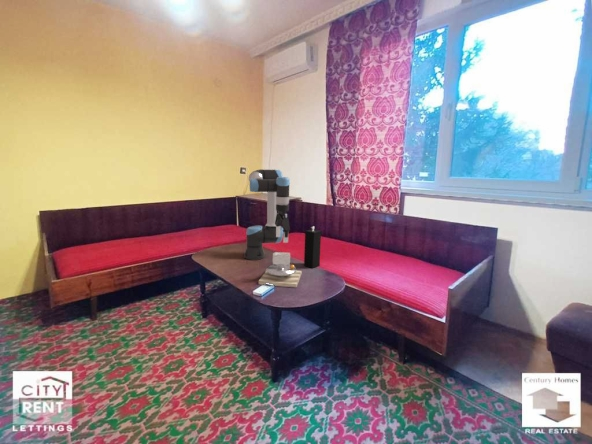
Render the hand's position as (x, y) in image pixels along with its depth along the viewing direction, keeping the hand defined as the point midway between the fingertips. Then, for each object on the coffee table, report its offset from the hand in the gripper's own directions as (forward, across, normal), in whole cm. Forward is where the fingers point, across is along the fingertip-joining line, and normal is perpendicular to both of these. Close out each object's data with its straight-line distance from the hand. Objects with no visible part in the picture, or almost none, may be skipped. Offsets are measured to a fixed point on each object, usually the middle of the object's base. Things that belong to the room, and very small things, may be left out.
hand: (281, 239), depth 173 cm
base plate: (+24, 0, 0) cm, 24 cm away
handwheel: (+19, 0, 0) cm, 19 cm away
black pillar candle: (+25, +16, -28) cm, 40 cm away
